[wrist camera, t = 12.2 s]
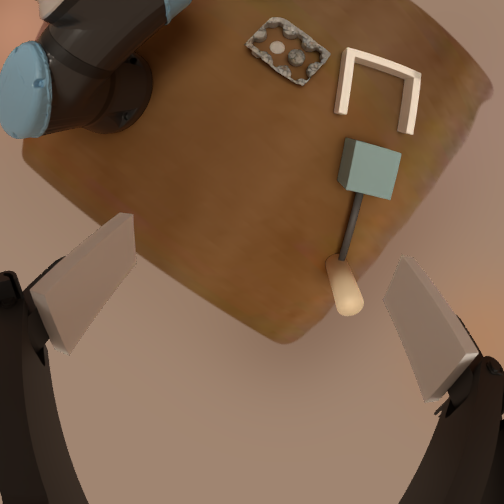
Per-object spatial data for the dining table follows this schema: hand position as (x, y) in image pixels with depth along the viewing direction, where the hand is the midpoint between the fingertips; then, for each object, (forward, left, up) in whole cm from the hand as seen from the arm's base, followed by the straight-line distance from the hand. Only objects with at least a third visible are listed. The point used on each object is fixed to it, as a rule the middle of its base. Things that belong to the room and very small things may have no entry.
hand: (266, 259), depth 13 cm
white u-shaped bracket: (+14, +14, -31) cm, 37 cm away
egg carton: (0, +18, -32) cm, 36 cm away
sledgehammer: (+14, -6, -31) cm, 35 cm away
